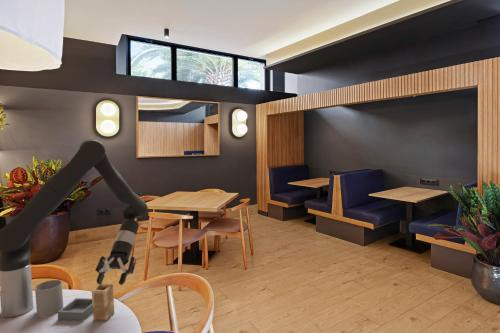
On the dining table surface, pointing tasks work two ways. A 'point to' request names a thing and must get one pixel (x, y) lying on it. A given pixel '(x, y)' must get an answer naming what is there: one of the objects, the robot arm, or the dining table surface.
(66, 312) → the tray
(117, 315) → the dining table surface
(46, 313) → the cup
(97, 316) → the oak crate
